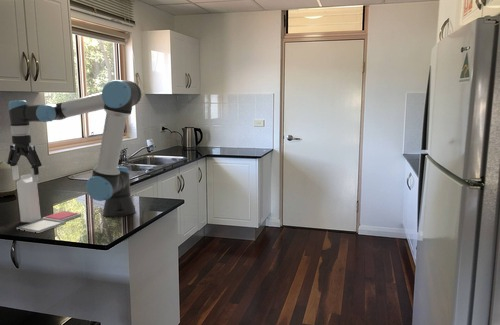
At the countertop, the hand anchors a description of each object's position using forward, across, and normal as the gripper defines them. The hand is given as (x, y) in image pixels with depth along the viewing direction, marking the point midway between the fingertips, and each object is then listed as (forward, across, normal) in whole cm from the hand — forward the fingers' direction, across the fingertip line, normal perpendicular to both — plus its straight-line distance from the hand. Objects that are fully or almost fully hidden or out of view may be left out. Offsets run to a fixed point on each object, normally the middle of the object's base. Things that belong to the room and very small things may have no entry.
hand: (25, 180), depth 189 cm
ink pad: (+19, -12, -8) cm, 24 cm away
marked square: (+19, -14, +4) cm, 24 cm away
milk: (+19, 0, 0) cm, 19 cm away
